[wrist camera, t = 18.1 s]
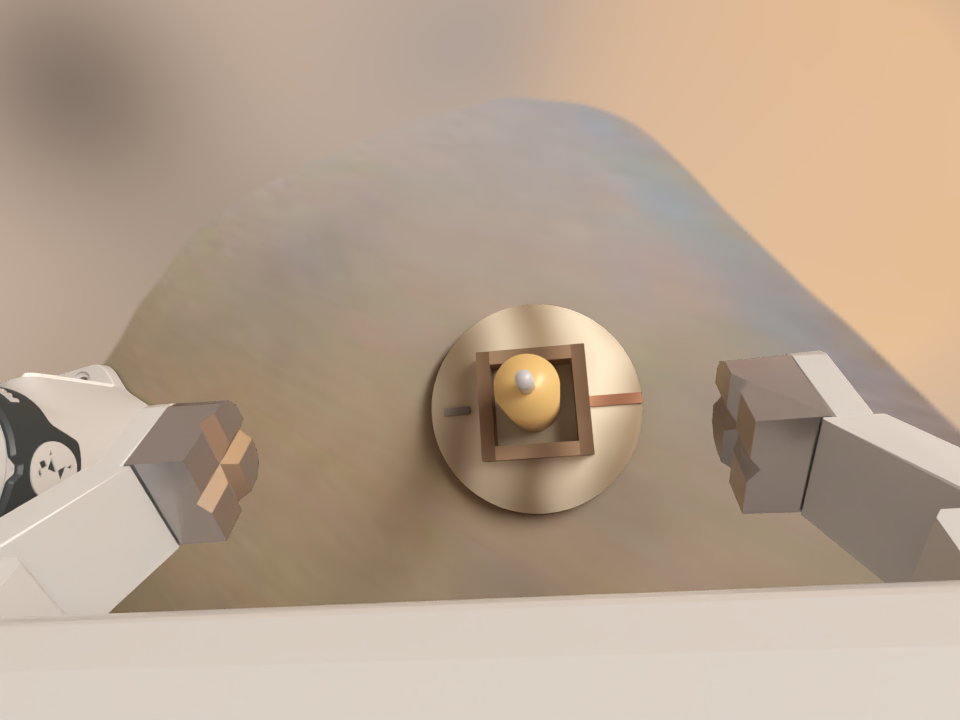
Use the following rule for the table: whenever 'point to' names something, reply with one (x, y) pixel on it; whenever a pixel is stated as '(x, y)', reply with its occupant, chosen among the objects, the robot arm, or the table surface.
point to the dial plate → (568, 441)
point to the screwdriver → (528, 391)
